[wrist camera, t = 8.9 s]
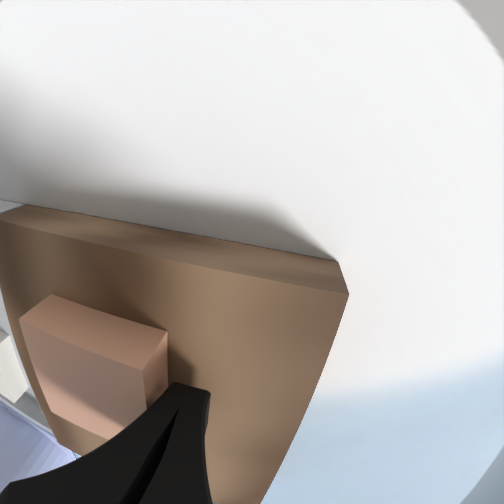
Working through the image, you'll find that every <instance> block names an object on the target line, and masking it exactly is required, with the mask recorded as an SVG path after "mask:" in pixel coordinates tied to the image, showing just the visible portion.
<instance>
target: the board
mask: <svg viewBox="0 0 504 504" xmlns="http://www.w3.org/2000/svg"><path fill="white" fill-rule="evenodd" d="M0 289H1V293H2V297H3V302H4V306H5V310H6V314H7V317H8V321H9V324H10V328H11V331H12V335H13V338H14V341H15V344H16V347H17V350H18V353H19V356H20V359H21V362H22V364H23V367H24V370H25V372H26V375H27V377H28V380H29V382H30V385H31V387H32V390H33V392H34V394H35V397H36V399H37V401H38V403H39V405H40V408H41V410H42V412H43V414H44V416H45V418H46V420H47V422H48V424H49V426H50V428H51V430H52V432H53V434H54V436H55V437H56V439H57V441H58V443H59V444H60V445H62V446H64V447H66V448H67V449H69V450H71V451H73V452H75V453H77V454H79V455H81V456H84V455H86V454H87V453H89V452H91V451H93V450H94V449H96V448H98V447H99V446H101V445H102V444H104V443H105V442H107V441H108V439H105V438H103V437H101V436H99V435H96V434H94V433H92V432H90V431H88V430H86V429H84V428H81V427H79V426H77V425H75V424H73V423H71V422H69V421H68V420H66V419H64V418H62V417H60V416H58V415H56V414H54V413H53V412H51V410H50V408H49V405H48V403H47V401H46V398H45V396H44V394H43V391H42V389H41V386H40V384H39V381H38V378H37V376H36V373H35V370H34V368H33V365H32V362H31V359H30V356H29V353H28V350H27V347H26V343H25V340H24V337H23V333H22V330H21V326H20V322H19V318H20V317H22V316H23V315H24V314H25V313H27V312H28V311H29V310H31V309H32V308H33V307H34V306H36V305H37V304H38V303H40V302H41V301H42V300H44V299H45V298H46V297H48V296H49V295H50V294H53V295H56V296H59V297H61V298H64V299H67V300H70V301H72V302H75V303H78V304H81V305H84V306H87V307H90V308H93V309H96V310H99V311H102V312H105V313H108V314H111V315H114V316H117V317H120V318H124V319H127V320H130V321H134V322H137V323H140V324H144V325H147V326H151V327H154V328H158V329H162V330H165V331H168V334H167V357H168V387H169V386H170V384H171V383H173V382H177V383H181V384H185V385H188V386H192V387H196V388H200V389H204V390H208V391H209V392H210V393H211V398H210V407H209V417H208V425H207V429H206V433H205V456H206V467H207V475H208V482H209V488H210V493H211V498H212V502H214V503H219V504H260V503H261V501H262V500H263V498H264V496H265V494H266V492H267V490H268V489H269V487H270V485H271V483H272V481H273V479H274V477H275V475H276V473H277V471H278V469H279V468H280V466H281V464H282V462H283V460H284V457H285V455H286V453H287V451H288V449H289V447H290V445H291V443H292V441H293V439H294V437H295V434H296V432H297V430H298V428H299V426H300V423H301V421H302V419H303V417H304V414H305V412H306V410H307V407H308V405H309V403H310V400H311V398H312V396H313V393H314V391H315V388H316V386H317V383H318V381H319V378H320V376H321V373H322V371H323V368H324V366H325V363H326V360H327V358H328V355H329V352H330V350H331V347H332V344H333V341H334V338H335V336H336V333H337V330H338V327H339V324H340V321H341V318H342V315H343V312H344V309H345V306H346V303H347V300H348V297H349V292H348V289H347V286H346V283H345V280H344V277H343V274H342V271H341V269H340V266H339V263H338V262H337V261H331V260H326V259H321V258H316V257H311V256H305V255H300V254H295V253H290V252H284V251H279V250H274V249H268V248H263V247H258V246H253V245H247V244H242V243H237V242H231V241H226V240H220V239H215V238H210V237H204V236H199V235H194V234H188V233H183V232H177V231H172V230H166V229H161V228H155V227H150V226H144V225H139V224H133V223H128V222H122V221H117V220H111V219H106V218H100V217H95V216H89V215H83V214H78V213H72V212H67V211H61V210H55V209H50V208H44V207H38V206H33V205H24V206H21V207H18V208H16V209H13V210H10V211H7V212H4V213H2V214H0Z"/></svg>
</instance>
